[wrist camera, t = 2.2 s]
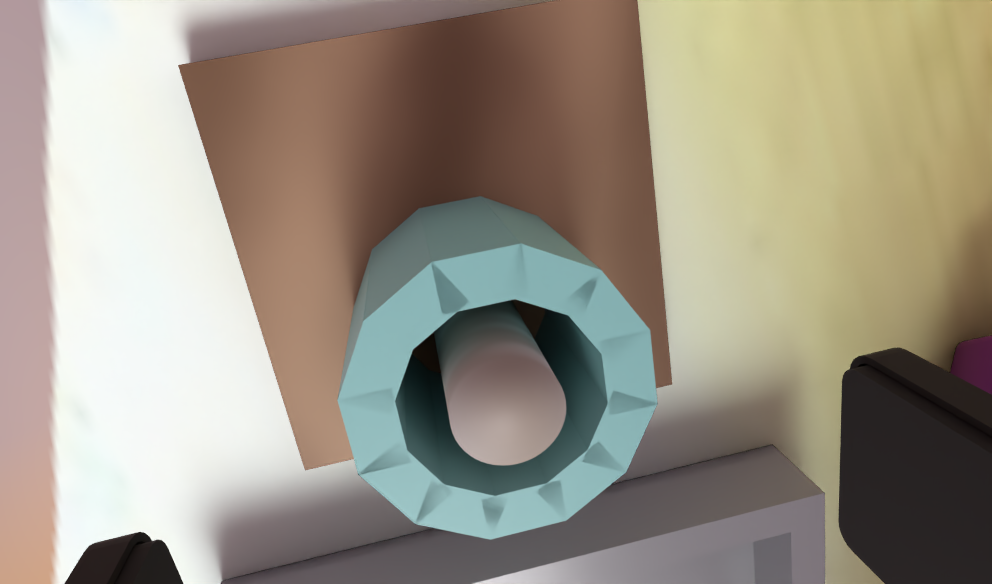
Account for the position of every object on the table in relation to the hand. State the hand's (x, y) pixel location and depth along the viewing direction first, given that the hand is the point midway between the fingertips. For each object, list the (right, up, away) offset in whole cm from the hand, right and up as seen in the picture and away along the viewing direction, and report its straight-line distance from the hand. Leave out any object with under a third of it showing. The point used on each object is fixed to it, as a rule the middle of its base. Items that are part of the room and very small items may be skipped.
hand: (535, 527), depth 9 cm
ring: (-1, +3, +10) cm, 11 cm away
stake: (-2, +5, +11) cm, 12 cm away
